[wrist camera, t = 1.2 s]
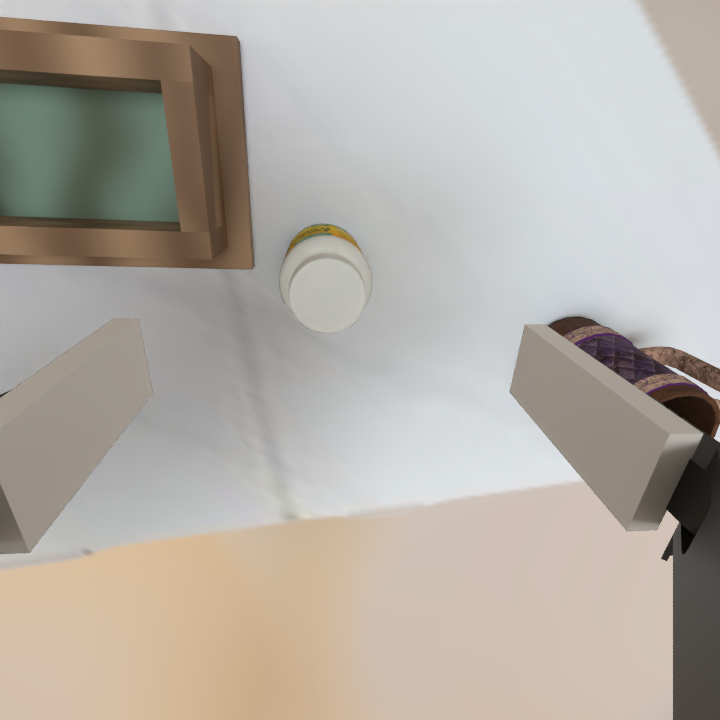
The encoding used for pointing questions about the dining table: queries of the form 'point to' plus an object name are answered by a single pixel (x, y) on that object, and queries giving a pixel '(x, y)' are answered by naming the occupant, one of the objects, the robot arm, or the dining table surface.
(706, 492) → the robot arm
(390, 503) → the dining table surface
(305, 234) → the supplement bottle
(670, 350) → the mug
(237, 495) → the dining table surface
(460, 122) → the dining table surface
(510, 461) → the dining table surface
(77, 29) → the walnut caddy
